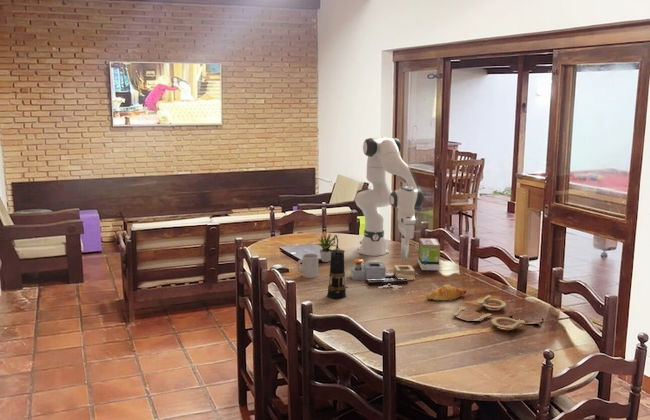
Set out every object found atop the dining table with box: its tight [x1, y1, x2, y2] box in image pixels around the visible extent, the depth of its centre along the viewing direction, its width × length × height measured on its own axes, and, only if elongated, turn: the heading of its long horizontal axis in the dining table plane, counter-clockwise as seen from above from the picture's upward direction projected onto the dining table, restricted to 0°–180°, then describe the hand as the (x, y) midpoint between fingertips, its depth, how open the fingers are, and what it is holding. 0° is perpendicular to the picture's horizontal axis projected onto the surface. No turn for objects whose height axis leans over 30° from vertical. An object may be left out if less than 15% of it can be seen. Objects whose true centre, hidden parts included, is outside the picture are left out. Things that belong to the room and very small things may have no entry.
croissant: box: [425, 283, 467, 301], centre depth 292 cm, size 21×10×8 cm
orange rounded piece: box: [353, 258, 364, 270], centre depth 321 cm, size 5×5×9 cm
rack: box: [393, 264, 416, 281], centre depth 323 cm, size 10×9×5 cm
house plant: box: [315, 232, 336, 263], centre depth 350 cm, size 14×14×16 cm
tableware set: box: [452, 294, 525, 330], centre depth 268 cm, size 35×29×4 cm
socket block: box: [362, 261, 387, 281], centre depth 322 cm, size 10×10×7 cm
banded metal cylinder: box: [400, 233, 410, 262], centre depth 321 cm, size 4×4×14 cm
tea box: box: [417, 238, 441, 271], centre depth 342 cm, size 15×10×15 cm, turn 179°
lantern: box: [326, 234, 349, 300], centre depth 291 cm, size 9×9×30 cm
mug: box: [296, 253, 319, 279], centre depth 323 cm, size 12×8×11 cm
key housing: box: [350, 266, 366, 281], centre depth 321 cm, size 7×7×5 cm
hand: (405, 243), depth 320 cm, fingers closed on banded metal cylinder, 4 cm apart
